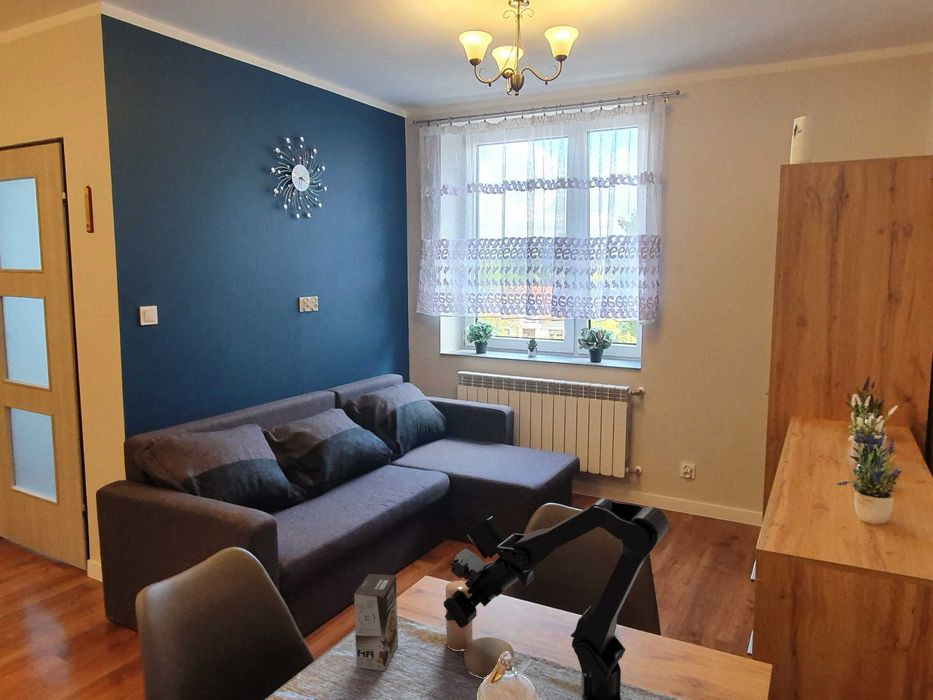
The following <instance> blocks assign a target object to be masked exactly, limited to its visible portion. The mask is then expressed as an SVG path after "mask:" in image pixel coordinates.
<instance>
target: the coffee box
mask: <svg viewBox="0 0 933 700" xmlns="http://www.w3.org/2000/svg"><path fill="white" fill-rule="evenodd" d="M353 595H354V596H353V597H354V603H353V604H354V628H355V634H354V635H355V655H356V656H355V660H356V661H355V664H356V668H358V669H366V670H367V669H368V670H374V671H379V672H380V671H381V672H384V671H386V669H387V667H388V666H389V664H390V662H391V660H392V658H393V656H394V654H395V652H396V650H397V649H398V647H399V635H398V634H399V631H398V630H399V628H398V604H397V603H398V598H397V597H398V596H397V595H398V594H397V576H396V575H392V574H391V575H390V574H373V573H368V574H367V575H366V577H364V579H363V581H362V583H361V584H360V586H358V588H357V590H356V591H355V592H354V594H353Z"/></svg>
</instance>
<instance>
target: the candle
mask: <svg viewBox="0 0 933 700" xmlns="http://www.w3.org/2000/svg"><path fill="white" fill-rule="evenodd" d="M466 582H467V581H466V580H454V581H451V582H449V583H447V584H445V600H446V599H448V598H449V597H450V596H451V595H452V594H453V593H454V592H456V591H457V590H459V591H463V592H464V594H465V595H466V596H467V598H469V597H470V596H471V595H472V594H470V595H469V594H468V592H467V590H468V589H469V588H468V587H467V586H466V585H465V583H466ZM471 603H472V602H471ZM447 612H448V611H447V609H446V608H445V614H446V613H447ZM445 623H446V624H445V626H446V628H445V629H446V635H445V636H446V637H445V638H446V646H447V645H448V646H449V647H450V648H452V649H455V650H461V649H465V647H466V646H467V645H468V644H469V643H470V642H471V641H473V640H474V639H473V628H474V626H473V620H472V621H471V622H470V623H469V624H468V625H466V626H465V627H464V628H460V627H459V626H458V624H457V623H456V622H455V621H448V620H447V619H446V618H445Z"/></svg>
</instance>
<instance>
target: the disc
mask: <svg viewBox="0 0 933 700" xmlns="http://www.w3.org/2000/svg"><path fill="white" fill-rule="evenodd" d="M505 651H509V652H511V654H512V657H513V658H514V648H513V647H512V645H511V644H510V643H508V642H507V641H506V640H503V639H501V638H497V637H487V636H485V637H479V638H476V639H473V641H471V642H470V643H469V644H468V645H467V646H466V647H465V650H464V651H463V652H464V653H463V657H464V659H463V660H464V662H463V664H465V665H464V668H465V667H466V669H467V670H468V671H469V672H471V673H472V674H474V675H477V676H479V677H482V678H484V677H486V676H487V675H489V674H490V673H491V672H492V671H493V669H494V668H495V666H496V664H497V661H498V659H499V657H500V655H501V654H502V653H503V652H505ZM466 669H465V670H466ZM467 670H466V671H467Z"/></svg>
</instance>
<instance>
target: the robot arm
mask: <svg viewBox="0 0 933 700" xmlns="http://www.w3.org/2000/svg"><path fill="white" fill-rule="evenodd" d="M669 526H670V524H669V520H668V518H667V516H666V515H665V513H664V512H663V511H662V510H660V509H659V508H657V507H655V506H642V505H641V504H640V505H639V504H637V503H632V502H631V503H630V502H623V501H622V502H621V501H615V500H612V499H609V498H602V497H601V498H599V499H597V500H596V501H595V502H594V503H592V504H591V505H589V506H588V507H585V508H583V510H580V511H578V512H577V513H575V514H573V515H571V516H570V517H568V518H566V519H563V520H562V521H561V522H558V523H557V524H555V525H553V526H551V527H548V528H546V527H545V528H541V529H537V530H533V531H530V532H527V534H525V533H515V532H514V533H512V534H511V535H509V536H508V537H507V535H506V534H505V532H504V531H503V530H502V528H501V527H500V526H499V524H498V521H497V520H496V519H495V518H494V516H490V517H489V518H487V519H486V520H485V521H484V522H482V523H480V524H479V525H477V526H476V527H474V528H472V529H471V530H470V531H469V532H468V533H467V534H466V536H467V537H468V539H469V540H470V541H471V543H472V544H473V546H474V547H475V548H476V550H477V551H478V552H479V554H480V556H482V557H481V558H480V556H478V555H477V554H476V553H474V552H473V551H472V550H470V549H468V548H463V549H462V550H461V551H460V552H459V553H458V554H457V553H456V555H455V558H454V559H453V561H451V562H450V563H449V565H450V571H451V573H452V574H453V575H455V577H457V578H458V579H465V580H467V581H465V582H466V583H465V585H466V586H467V587H468V588H469V589H468V590H467V592H468V594H469V595H470V594H472V595H471V596H470V597H469V598H467V596H466V595H465V594H464V592H463V591H459V590H457V591H456V592H454V593H453V594H452V595H451V596H450V597H449V598H448V599H446V598H445V600H444V601H443V607H444V608H445V610H446V609H447V611H448V612H447V613H446V612H445V615H444V618H445V620H446V619H447V620H448V621H455V622H456V623H457V624H458V626H459V627H460V628H464V627H465V626H466V625H468V624H469V623H470V622H471V621H472V622H473V620H474V619H475V618H476V617H477V616H478V615H477V613H478V612H477V608H476V607H477V606H478V605H480V604H481V606H483V607H486V606H487V605H488V604H489V603H490V602H491V601H492V600H494V599H495V598H498V597H499V596H500V595H501V594H502V593H503V592H504V591H505V590H506V589H508V588H509V587H511V586H512V585H513V584H514V583H516V582H517V581H518V580H519V581H520V582H521V584H522V585H523V586H524V587H527V586H528V585H529V584H530V583H531V582H532V581H533V580H534V579H535V578H534V568H535V567H536V566H538V565H540V564H541V562H543V561H544V560H545V559H546V558H547V557H548V556H550V555H551V554H552V553H553V552H554V551H556V550H557V549H559V548H561V547H563V546H565V545H567V544H569V543H570V542H572V541H574V540H576V539H578V538H579V537H581V536H584V535H585V534H587V533H589V532H592V531H593V530H594V529H597V528H601V529H604V530H605V531H606V532H608V533H609V534H610V535H612V536H613V537H614V538H616V539H618V540H621V554H620V557H619V558H618V560H617V563H616V565H615V567H614V569H613V572H612V573H611V576H610V577H609V580H608V582H607V584H606V586H605V588H604V590H603V592H602V594H601V597H600V599H599V600H598V602H597V605H596V607H595V608H594V607H593V605H590V606H589V607H588V608H587V609H586V610H585V612H583V614H582V615H581V616H580V617H579V618H578V619H577V623H576V626H575V630H574V631H573V632H572V633H571V634H570V637H571V638H572V640H571V641H572V642H571V648H572V649H573V651H574V653H575V654H576V656H577V660H578V663H579V666H580V669H581V679H580V680H581V681H580V682H581V683H580V688H581V692H582V695H583V697H584V698H585V700H623V699H622V696H621V686H622V684H621V680H622V679H621V676H622V669H621V666H620V663H619V662H620V660H621V659H622V658H623V657H624V653H625V652H626V648H625V646H624V645H623V644H622V643H621V641H620V640H619V638H617V636H616V635H615V634H616V630H617V622H618V621H617V619H618V615H619V613H620V612H621V611H620V610H622V607H623V605H624V603H625V600H626V598H627V597H628V594H629V593H630V590H631V589H632V587H633V584H634V582H635V580H636V578H637V576H638V575H639V572H640V570H641V569H642V566H643V564H644V562H645V560H646V559H647V557H648V555H650V553H651V552H652V551H653V550H654V548H655V547H656V546H657V545H658V543H659V542H660V541H661V540H662V538H663V537H665V535H666V533H667V532H668V530H669ZM496 555H497V556H498V557H497V558H496V559H494V560H493V561H492V560H491V559H493V558H494V557H495V556H496ZM482 558H484V560H486V559H487V558H489V559H490V560H491V561H489V562H487V563H486V562H484V561H483V559H482ZM471 602H472V603H471Z"/></svg>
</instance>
